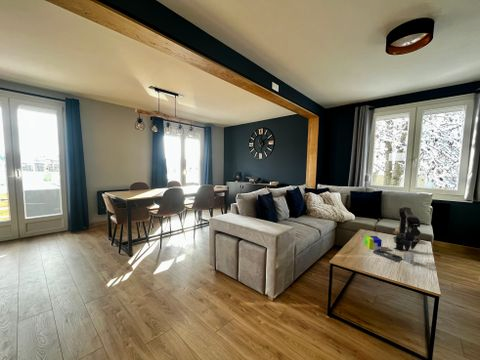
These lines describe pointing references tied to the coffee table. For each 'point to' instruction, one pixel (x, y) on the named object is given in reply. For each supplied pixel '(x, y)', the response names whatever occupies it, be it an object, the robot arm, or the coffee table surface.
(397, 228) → the owl figurine
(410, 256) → the brushed metal block
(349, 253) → the coffee table surface
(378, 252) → the slotted plate
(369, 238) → the puzzle toy
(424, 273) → the coffee table surface
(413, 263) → the mat
